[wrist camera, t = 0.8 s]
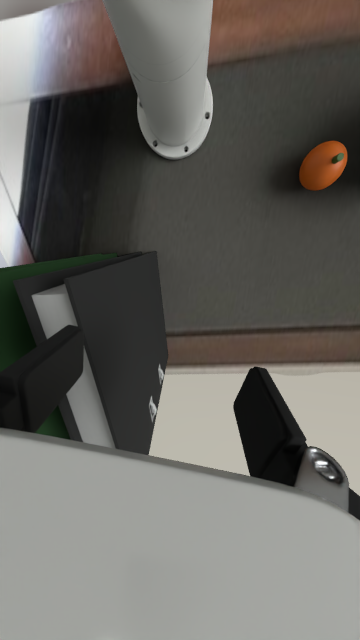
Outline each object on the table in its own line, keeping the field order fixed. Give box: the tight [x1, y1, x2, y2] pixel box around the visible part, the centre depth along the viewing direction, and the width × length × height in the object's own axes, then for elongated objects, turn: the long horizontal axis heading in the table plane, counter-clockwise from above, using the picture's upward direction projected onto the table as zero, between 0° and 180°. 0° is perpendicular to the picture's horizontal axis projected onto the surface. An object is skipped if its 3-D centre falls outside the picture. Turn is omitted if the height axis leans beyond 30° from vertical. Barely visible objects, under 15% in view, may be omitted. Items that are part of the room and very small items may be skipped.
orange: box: [299, 141, 347, 191], centre depth 31 cm, size 6×6×8 cm
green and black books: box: [0, 251, 168, 455], centre depth 32 cm, size 27×15×32 cm, turn 2°
